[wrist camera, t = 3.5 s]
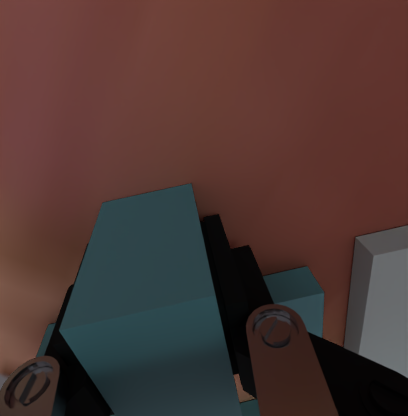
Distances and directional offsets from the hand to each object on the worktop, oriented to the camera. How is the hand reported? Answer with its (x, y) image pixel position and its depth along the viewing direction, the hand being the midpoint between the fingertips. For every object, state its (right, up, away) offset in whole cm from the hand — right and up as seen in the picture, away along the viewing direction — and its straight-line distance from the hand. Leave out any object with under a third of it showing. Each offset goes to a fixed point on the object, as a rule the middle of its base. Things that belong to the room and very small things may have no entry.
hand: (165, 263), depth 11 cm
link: (+1, -4, +3) cm, 5 cm away
